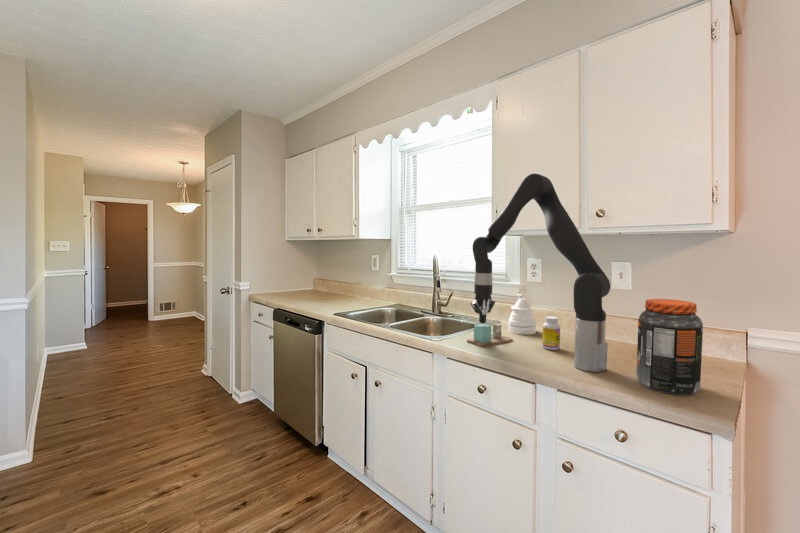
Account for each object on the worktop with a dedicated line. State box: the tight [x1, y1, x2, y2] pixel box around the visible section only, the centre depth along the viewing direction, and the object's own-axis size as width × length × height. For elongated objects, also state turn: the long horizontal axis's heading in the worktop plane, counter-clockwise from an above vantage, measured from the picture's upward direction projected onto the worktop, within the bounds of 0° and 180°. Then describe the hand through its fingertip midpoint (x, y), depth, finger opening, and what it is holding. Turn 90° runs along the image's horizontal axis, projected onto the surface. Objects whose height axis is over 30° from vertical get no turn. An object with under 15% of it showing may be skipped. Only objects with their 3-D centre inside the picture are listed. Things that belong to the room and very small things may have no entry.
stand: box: [466, 323, 514, 348], centre depth 162 cm, size 10×18×7 cm, turn 123°
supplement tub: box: [636, 298, 704, 396], centre depth 111 cm, size 16×16×26 cm
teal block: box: [473, 323, 492, 343], centre depth 160 cm, size 5×5×7 cm
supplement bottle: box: [541, 315, 561, 351], centre depth 152 cm, size 7×7×13 cm
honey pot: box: [507, 293, 537, 335], centre depth 181 cm, size 13×13×18 cm
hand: (482, 323), depth 160 cm, fingers closed
